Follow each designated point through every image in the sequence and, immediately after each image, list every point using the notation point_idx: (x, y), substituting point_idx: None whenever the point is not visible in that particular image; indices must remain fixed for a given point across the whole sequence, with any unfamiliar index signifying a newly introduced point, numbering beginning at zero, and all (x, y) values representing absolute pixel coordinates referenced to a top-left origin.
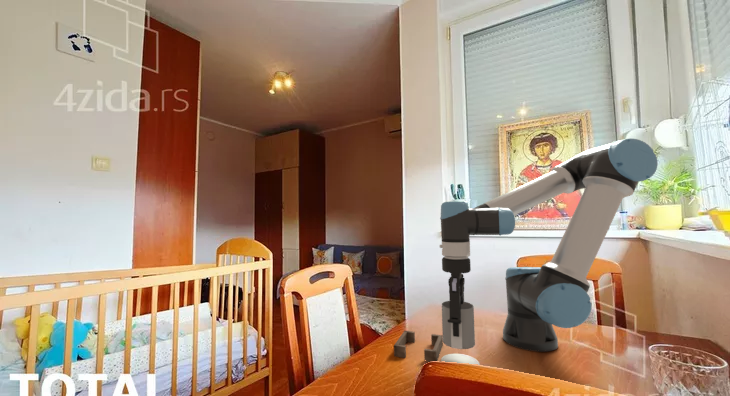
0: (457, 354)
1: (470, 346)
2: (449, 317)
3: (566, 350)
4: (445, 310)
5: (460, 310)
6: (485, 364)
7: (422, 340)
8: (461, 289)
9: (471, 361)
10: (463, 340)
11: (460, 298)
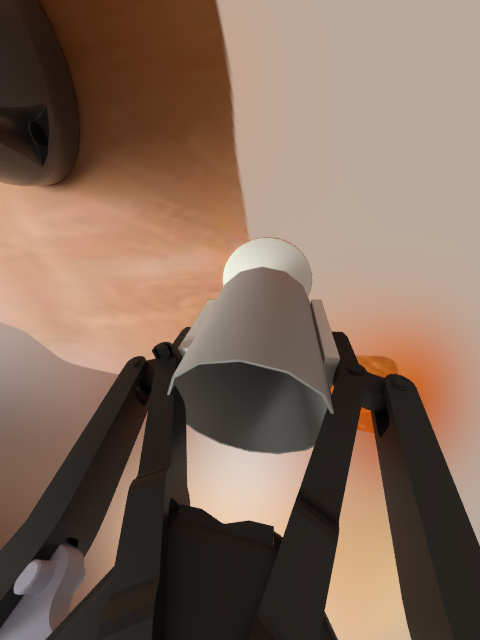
0: None
1: (293, 279)
2: (313, 401)
3: None
4: (303, 433)
5: (349, 414)
6: (245, 223)
7: None
8: (324, 609)
9: (251, 260)
10: (309, 308)
11: (339, 496)
